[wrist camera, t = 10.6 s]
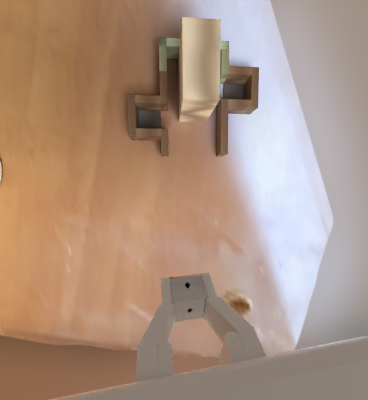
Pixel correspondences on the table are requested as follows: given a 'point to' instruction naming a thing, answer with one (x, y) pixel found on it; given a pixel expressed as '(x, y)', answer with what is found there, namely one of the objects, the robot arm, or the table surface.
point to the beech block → (198, 69)
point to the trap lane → (232, 103)
